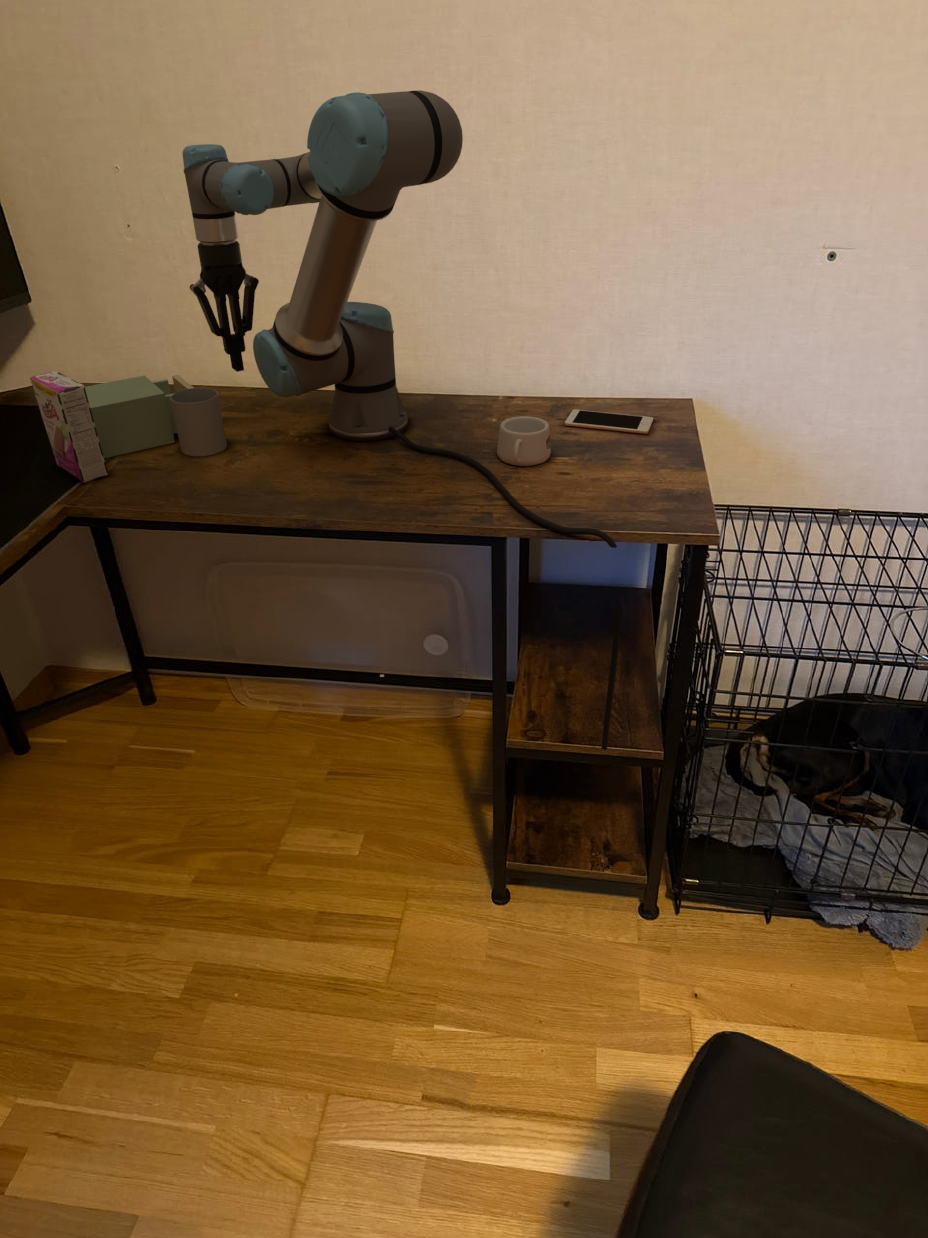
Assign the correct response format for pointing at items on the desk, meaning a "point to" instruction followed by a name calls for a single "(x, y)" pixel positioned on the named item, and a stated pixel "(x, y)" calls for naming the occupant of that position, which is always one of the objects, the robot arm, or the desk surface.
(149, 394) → the cabinet
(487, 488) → the desk surface
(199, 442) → the cup
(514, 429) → the mug
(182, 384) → the drawer
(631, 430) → the cell phone
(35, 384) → the candy bar box
